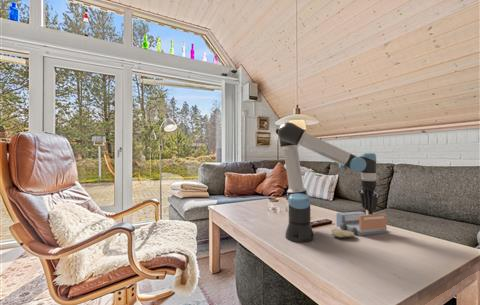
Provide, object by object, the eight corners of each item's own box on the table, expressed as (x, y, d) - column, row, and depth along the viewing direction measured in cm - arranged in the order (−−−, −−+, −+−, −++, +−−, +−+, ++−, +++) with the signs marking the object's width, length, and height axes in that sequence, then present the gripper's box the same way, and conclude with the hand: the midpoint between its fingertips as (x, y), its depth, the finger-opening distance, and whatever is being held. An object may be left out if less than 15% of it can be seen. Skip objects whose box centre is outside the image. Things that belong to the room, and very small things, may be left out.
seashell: (352, 232, 131) (351, 227, 131) (357, 240, 119) (356, 235, 119) (330, 232, 134) (329, 227, 134) (333, 240, 122) (332, 235, 122)
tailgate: (361, 230, 126) (361, 215, 126) (359, 229, 128) (359, 215, 128) (386, 228, 130) (386, 213, 130) (384, 227, 132) (384, 213, 132)
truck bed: (357, 237, 126) (357, 222, 126) (334, 226, 146) (334, 213, 146) (389, 234, 131) (389, 219, 131) (363, 223, 151) (363, 211, 151)
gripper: (383, 181, 127) (383, 224, 127) (365, 178, 139) (365, 217, 139) (372, 181, 125) (372, 225, 125) (354, 179, 138) (355, 218, 137)
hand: (368, 221), depth 132 cm, fingers closed
